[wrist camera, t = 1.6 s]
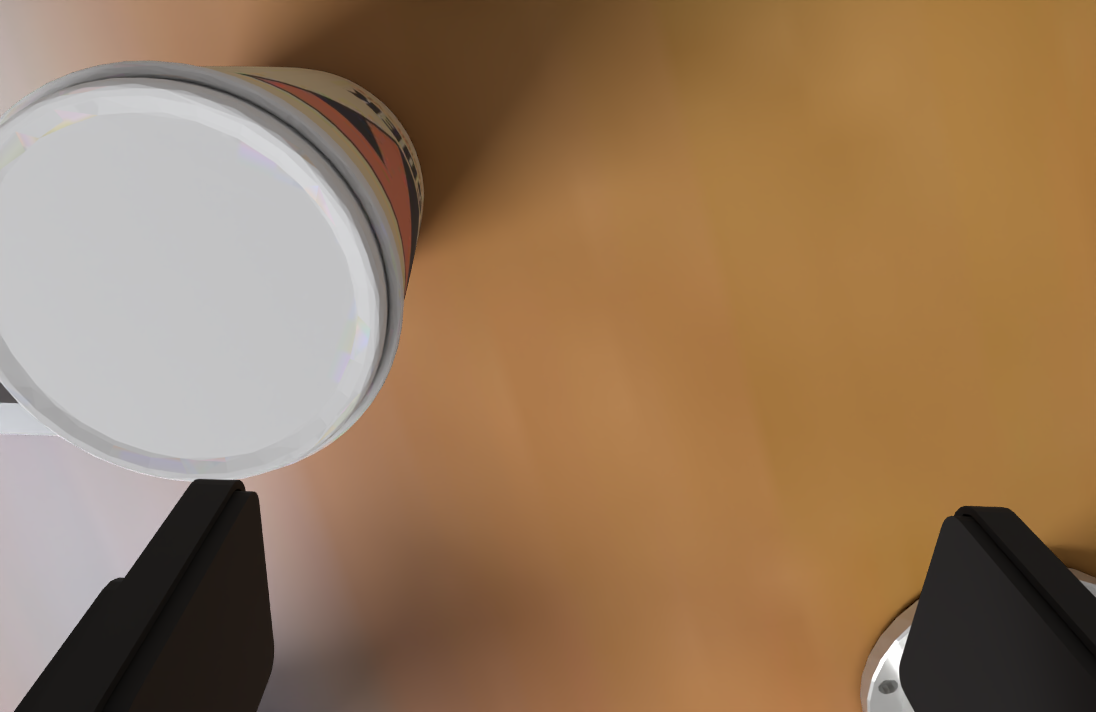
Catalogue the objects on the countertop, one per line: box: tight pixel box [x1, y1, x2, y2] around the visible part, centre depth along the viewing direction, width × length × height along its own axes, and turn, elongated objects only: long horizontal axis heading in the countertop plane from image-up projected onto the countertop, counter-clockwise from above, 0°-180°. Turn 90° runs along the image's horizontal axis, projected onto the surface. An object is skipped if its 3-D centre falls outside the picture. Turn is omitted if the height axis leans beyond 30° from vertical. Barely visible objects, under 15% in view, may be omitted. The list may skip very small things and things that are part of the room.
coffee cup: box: [0, 61, 424, 482], centre depth 22 cm, size 9×9×12 cm
